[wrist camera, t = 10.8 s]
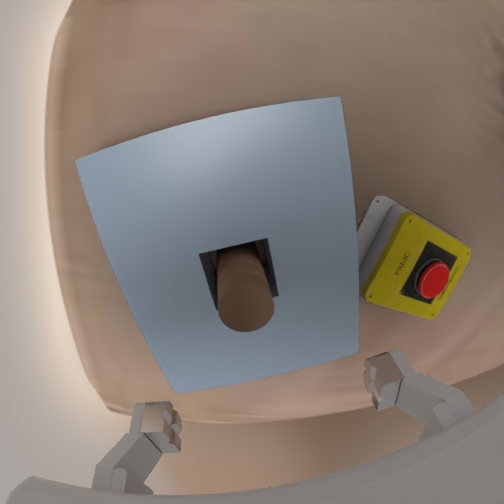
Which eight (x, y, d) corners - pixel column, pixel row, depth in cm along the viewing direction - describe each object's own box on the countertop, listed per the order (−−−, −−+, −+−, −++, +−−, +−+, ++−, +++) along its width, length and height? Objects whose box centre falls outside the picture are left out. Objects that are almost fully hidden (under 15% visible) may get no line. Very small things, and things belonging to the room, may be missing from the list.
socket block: (315, 100, 21) (340, 96, 16) (340, 320, 30) (358, 352, 25) (101, 152, 21) (75, 160, 16) (178, 357, 29) (175, 393, 25)
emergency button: (445, 330, 28) (345, 304, 24) (426, 309, 32) (328, 279, 28) (488, 258, 25) (398, 202, 21) (463, 242, 29) (372, 189, 25)
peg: (251, 225, 24) (269, 279, 16) (258, 260, 26) (278, 325, 18) (212, 234, 24) (211, 293, 16) (222, 268, 26) (226, 337, 18)
